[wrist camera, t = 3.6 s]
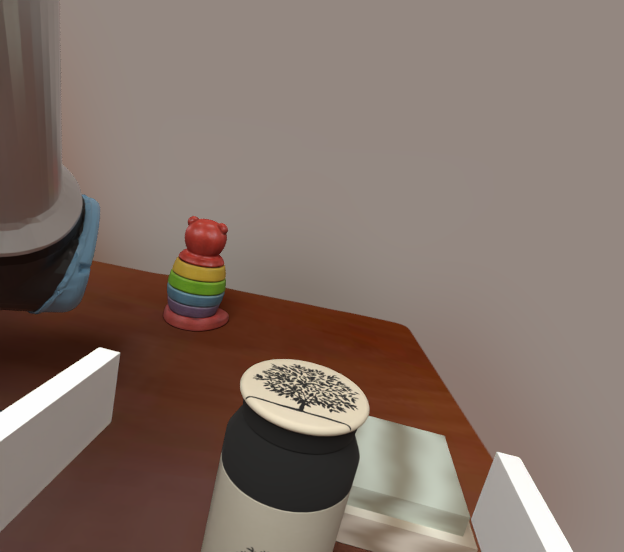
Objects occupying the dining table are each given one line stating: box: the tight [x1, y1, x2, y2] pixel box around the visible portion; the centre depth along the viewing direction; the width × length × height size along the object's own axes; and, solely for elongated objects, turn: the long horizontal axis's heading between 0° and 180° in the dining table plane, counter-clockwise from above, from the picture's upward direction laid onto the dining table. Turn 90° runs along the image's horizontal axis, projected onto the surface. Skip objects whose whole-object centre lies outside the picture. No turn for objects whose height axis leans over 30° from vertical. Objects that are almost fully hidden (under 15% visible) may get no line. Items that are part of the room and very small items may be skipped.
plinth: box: [336, 416, 478, 552], centre depth 44 cm, size 14×14×5 cm
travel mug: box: [201, 359, 369, 552], centre depth 27 cm, size 8×8×18 cm
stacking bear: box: [163, 216, 229, 331], centre depth 74 cm, size 11×10×18 cm
